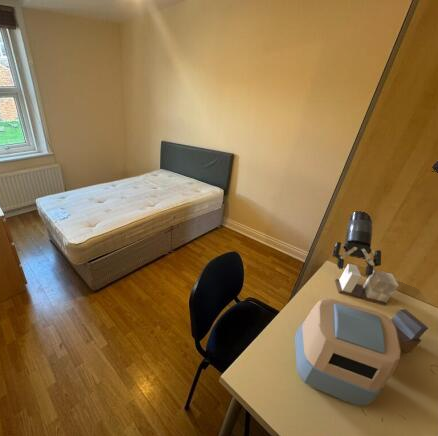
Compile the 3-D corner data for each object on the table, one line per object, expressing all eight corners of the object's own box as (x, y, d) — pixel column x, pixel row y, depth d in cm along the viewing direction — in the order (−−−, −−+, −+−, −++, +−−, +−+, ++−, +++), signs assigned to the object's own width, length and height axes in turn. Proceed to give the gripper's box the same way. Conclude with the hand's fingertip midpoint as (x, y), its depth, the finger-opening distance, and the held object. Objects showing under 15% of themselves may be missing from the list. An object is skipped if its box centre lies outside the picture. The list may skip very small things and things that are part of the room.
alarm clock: (293, 385, 64) (324, 334, 53) (291, 334, 77) (315, 285, 66) (369, 417, 58) (423, 368, 46) (352, 356, 71) (391, 305, 59)
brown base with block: (378, 292, 93) (391, 273, 87) (385, 305, 87) (399, 286, 82) (335, 280, 98) (345, 262, 93) (338, 292, 92) (349, 274, 87)
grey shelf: (387, 330, 78) (405, 307, 72) (410, 352, 72) (432, 329, 66) (337, 333, 77) (352, 311, 72) (356, 356, 71) (374, 333, 65)
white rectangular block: (347, 282, 96) (356, 265, 91) (351, 293, 91) (361, 276, 86) (339, 279, 97) (348, 263, 92) (342, 290, 92) (352, 273, 87)
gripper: (341, 226, 92) (335, 265, 89) (387, 234, 86) (383, 277, 83) (333, 231, 99) (328, 267, 96) (376, 239, 93) (372, 278, 90)
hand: (354, 272), depth 89 cm, fingers open, 8 cm apart
